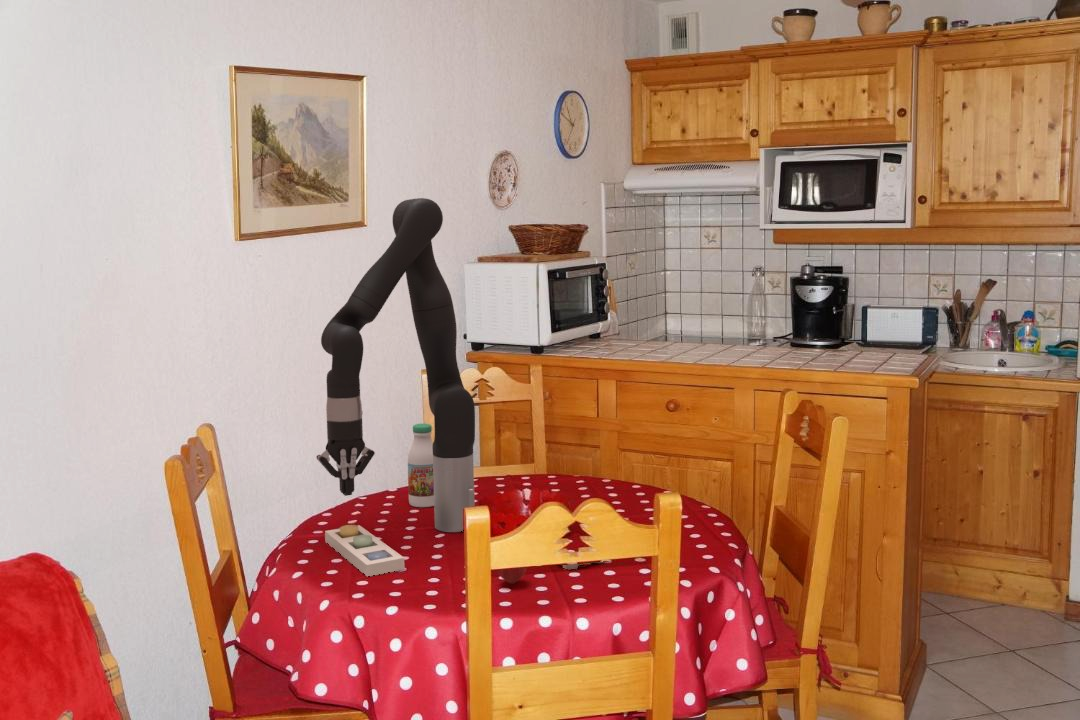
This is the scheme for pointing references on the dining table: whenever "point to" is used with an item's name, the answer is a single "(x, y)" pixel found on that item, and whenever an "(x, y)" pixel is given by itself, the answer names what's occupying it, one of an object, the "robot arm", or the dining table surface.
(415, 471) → the milk bottle
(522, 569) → the onion
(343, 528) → the ochre button
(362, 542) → the sage button
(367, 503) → the dining table surface
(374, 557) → the blue button
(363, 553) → the button panel
